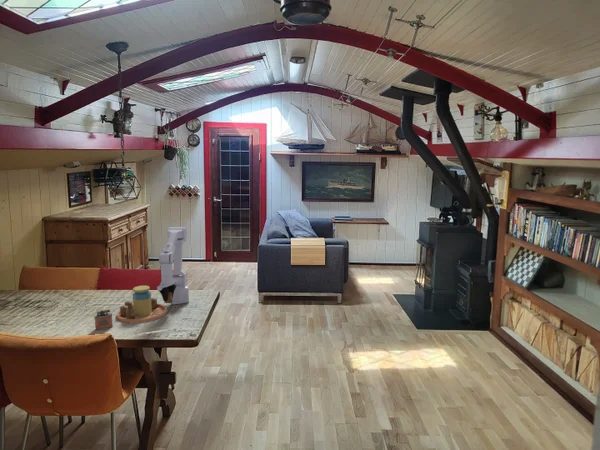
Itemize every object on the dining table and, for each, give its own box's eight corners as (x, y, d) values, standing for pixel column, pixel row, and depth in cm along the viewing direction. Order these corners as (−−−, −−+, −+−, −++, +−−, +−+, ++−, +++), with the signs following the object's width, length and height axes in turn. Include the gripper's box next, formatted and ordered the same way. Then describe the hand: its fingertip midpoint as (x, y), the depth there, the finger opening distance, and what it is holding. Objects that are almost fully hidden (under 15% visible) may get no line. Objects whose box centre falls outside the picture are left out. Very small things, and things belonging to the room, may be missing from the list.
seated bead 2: (132, 309, 239) (132, 300, 239) (133, 311, 236) (132, 302, 235) (125, 310, 238) (124, 301, 237) (125, 312, 234) (124, 304, 233)
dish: (163, 304, 250) (163, 300, 250) (170, 319, 228) (169, 315, 227) (116, 310, 240) (116, 306, 240) (118, 327, 217) (117, 322, 217)
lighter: (95, 332, 211) (93, 312, 209) (95, 329, 214) (93, 310, 212) (113, 329, 215) (112, 309, 213) (112, 326, 218) (111, 307, 216)
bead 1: (156, 306, 245) (156, 297, 244) (157, 308, 241) (157, 299, 240) (149, 307, 243) (148, 298, 242) (150, 309, 239) (149, 300, 239)
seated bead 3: (134, 317, 228) (133, 308, 227) (135, 320, 224) (134, 310, 224) (126, 318, 226) (125, 309, 226) (126, 321, 223) (126, 311, 222)
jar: (150, 310, 240) (149, 284, 238) (153, 316, 232) (151, 289, 230) (133, 313, 236) (131, 286, 234) (134, 318, 228) (133, 291, 226)
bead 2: (170, 300, 236) (170, 291, 235) (173, 302, 233) (172, 293, 232) (163, 301, 234) (163, 292, 233) (165, 303, 230) (165, 294, 230)
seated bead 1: (128, 314, 233) (127, 305, 232) (128, 316, 229) (128, 307, 228) (120, 315, 231) (119, 306, 230) (120, 317, 227) (120, 308, 227)
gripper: (169, 270, 239) (170, 294, 241) (151, 277, 225) (153, 302, 228) (179, 272, 236) (180, 296, 239) (163, 279, 223) (164, 304, 225)
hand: (168, 299), depth 233 cm, fingers closed on bead 2, 4 cm apart
